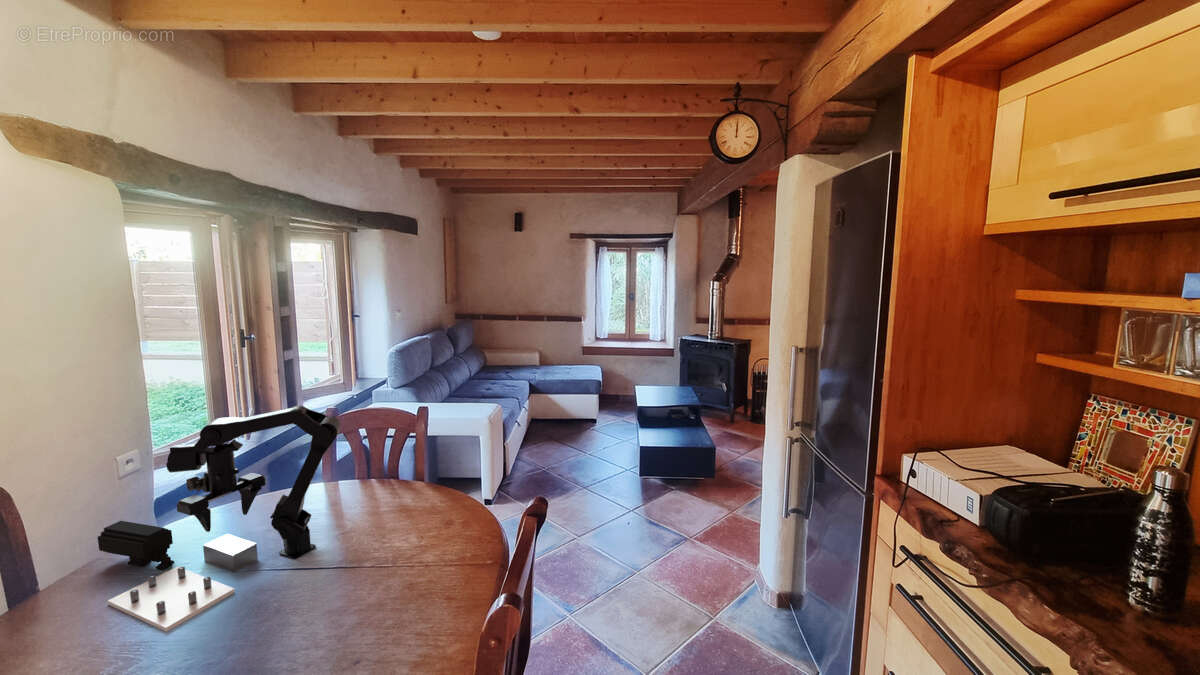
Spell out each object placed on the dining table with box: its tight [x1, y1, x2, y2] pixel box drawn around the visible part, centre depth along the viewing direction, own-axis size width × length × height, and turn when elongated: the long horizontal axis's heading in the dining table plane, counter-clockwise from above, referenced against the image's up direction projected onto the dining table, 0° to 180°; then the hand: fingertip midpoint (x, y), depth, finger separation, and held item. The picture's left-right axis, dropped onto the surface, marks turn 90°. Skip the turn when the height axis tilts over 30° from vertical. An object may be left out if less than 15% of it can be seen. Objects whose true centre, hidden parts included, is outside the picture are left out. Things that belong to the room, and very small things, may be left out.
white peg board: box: [107, 566, 235, 633], centre depth 115 cm, size 22×14×4 cm, turn 69°
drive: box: [202, 533, 259, 573], centre depth 130 cm, size 12×6×5 cm, turn 69°
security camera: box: [97, 520, 175, 572], centre depth 127 cm, size 7×18×10 cm, turn 78°
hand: (227, 522), depth 129 cm, fingers open, 9 cm apart
